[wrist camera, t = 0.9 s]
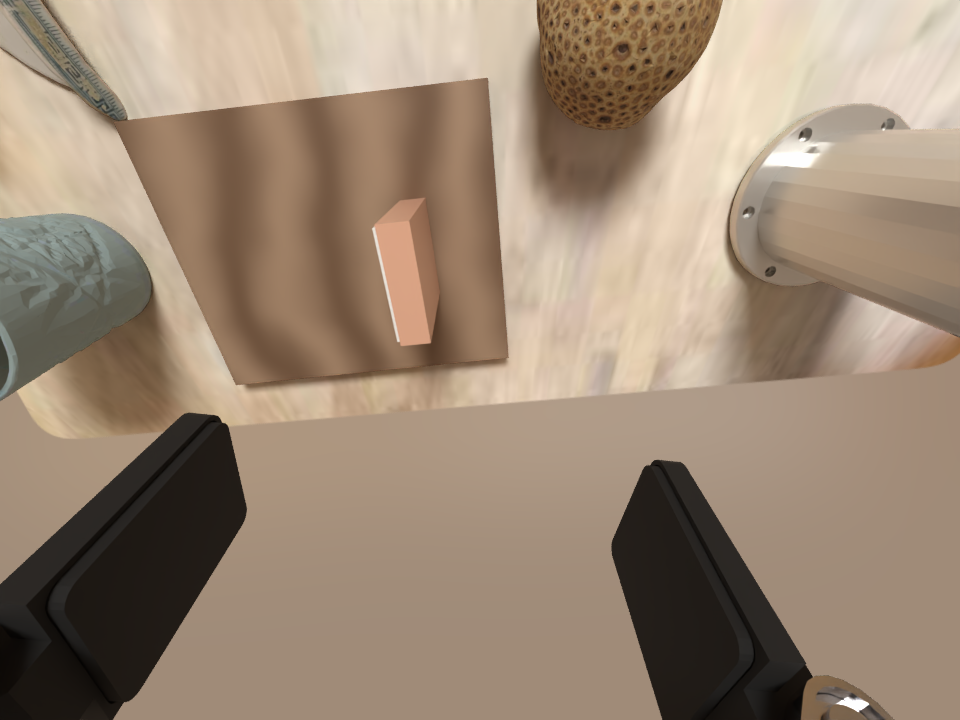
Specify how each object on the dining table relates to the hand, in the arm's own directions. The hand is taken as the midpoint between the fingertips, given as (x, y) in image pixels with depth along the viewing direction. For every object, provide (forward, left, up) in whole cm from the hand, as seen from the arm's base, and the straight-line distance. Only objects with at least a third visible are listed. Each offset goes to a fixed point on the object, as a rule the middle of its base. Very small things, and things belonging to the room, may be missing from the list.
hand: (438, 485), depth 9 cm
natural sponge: (-10, -11, -25) cm, 30 cm away
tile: (+3, 0, -24) cm, 24 cm away
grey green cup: (+29, -1, -26) cm, 39 cm away
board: (+9, 0, -25) cm, 27 cm away
